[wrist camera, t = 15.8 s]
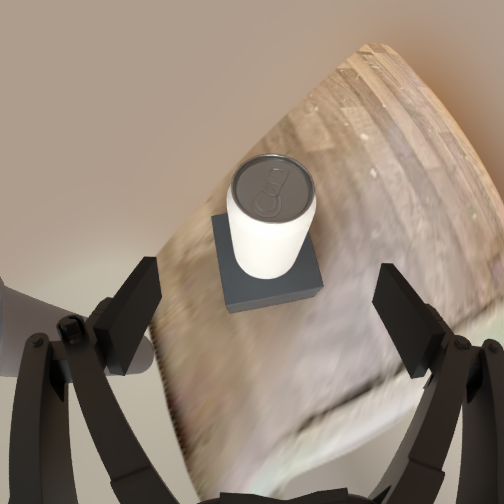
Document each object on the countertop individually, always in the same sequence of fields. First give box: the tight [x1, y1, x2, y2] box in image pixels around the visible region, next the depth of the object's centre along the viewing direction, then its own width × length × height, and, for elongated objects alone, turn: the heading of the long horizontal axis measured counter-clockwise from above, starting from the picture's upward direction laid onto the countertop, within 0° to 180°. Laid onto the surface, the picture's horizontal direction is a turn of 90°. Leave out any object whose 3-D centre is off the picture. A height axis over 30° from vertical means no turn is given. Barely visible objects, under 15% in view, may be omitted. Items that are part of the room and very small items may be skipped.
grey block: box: [211, 213, 323, 313], centre depth 33 cm, size 10×10×5 cm
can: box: [227, 154, 316, 279], centre depth 25 cm, size 6×6×12 cm
